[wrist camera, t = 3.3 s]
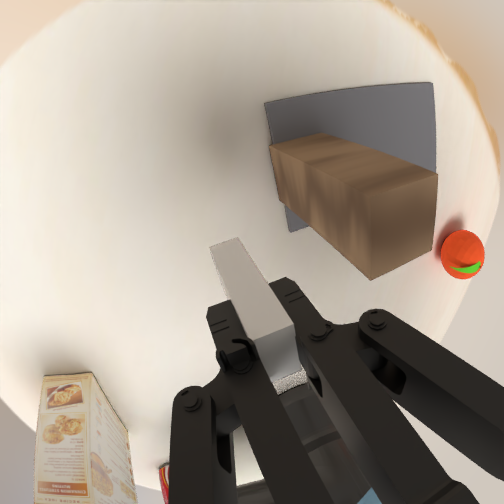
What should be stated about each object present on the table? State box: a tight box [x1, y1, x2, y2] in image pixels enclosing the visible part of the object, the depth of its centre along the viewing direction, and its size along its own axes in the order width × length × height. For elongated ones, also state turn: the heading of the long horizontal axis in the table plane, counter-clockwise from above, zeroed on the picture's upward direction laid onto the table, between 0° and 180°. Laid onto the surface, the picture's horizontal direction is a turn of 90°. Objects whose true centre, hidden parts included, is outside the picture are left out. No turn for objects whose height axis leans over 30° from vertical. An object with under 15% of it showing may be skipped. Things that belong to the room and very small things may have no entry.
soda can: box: [159, 464, 169, 504], centre depth 41 cm, size 7×7×12 cm
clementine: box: [441, 230, 484, 279], centre depth 36 cm, size 8×7×7 cm
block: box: [269, 133, 438, 281], centre depth 21 cm, size 5×5×13 cm
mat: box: [264, 83, 436, 232], centre depth 27 cm, size 12×20×1 cm, turn 102°
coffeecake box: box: [34, 373, 138, 504], centre depth 24 cm, size 15×7×20 cm, turn 0°
